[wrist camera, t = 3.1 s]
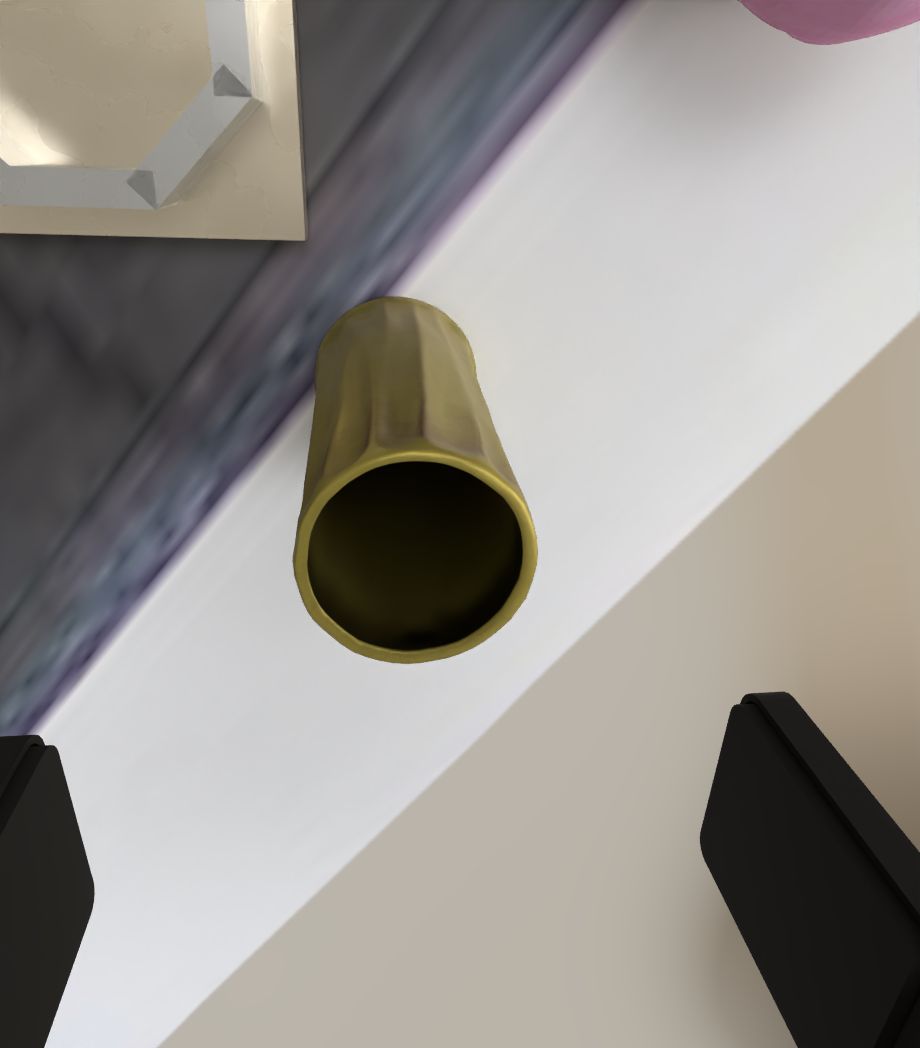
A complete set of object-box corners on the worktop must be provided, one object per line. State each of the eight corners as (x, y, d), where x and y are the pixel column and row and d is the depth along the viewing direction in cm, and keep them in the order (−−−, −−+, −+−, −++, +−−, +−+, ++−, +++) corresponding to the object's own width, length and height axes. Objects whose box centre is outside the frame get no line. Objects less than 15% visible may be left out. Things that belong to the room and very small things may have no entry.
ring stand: (283, -235, 20) (265, -316, 17) (308, 236, 25) (298, 249, 22) (-198, -281, 19) (-331, -381, 15) (-64, 226, 24) (-139, 239, 21)
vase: (332, 463, 29) (304, 701, 17) (298, 308, 27) (233, 453, 14) (483, 440, 30) (567, 657, 17) (465, 283, 27) (551, 404, 14)
